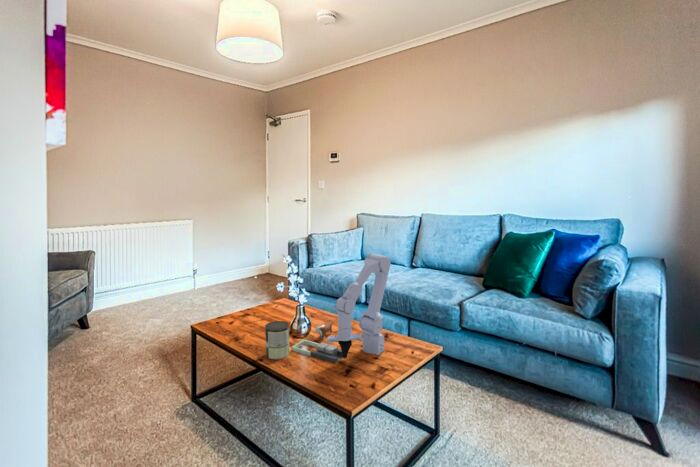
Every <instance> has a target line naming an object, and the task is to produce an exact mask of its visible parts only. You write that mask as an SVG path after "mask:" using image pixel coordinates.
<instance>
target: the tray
mask: <svg viewBox="0 0 700 467" xmlns="http://www.w3.org/2000/svg"><path fill="white" fill-rule="evenodd" d="M319 344H320V343H318V342H314V341H311V340H307V339H303V340H302V341H300V342H297V343H295V344H294V345H292V346H291V351H293V352H297V353H298V354H299V353H300V354H303V355H305V356H309V357H312V356H311V351H310V350H306V349H303V348H300V347H302V346H303V345H307V346H312V347H314V348H317V345H319Z"/></svg>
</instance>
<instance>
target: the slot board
mask: <svg viewBox="0 0 700 467" xmlns="http://www.w3.org/2000/svg"><path fill="white" fill-rule="evenodd" d="M310 352H311V356H310V357H313V358H317V359H320V360H323V361H327V362H329V363H332V364H336V363H338V362H339V361H341V360H342V359H344V358H343V354H342V350H341V348H340V349H339V348H338V356H337V357H334V356H330V355H327V354H324V353H320V352H317V350H311V351H310Z"/></svg>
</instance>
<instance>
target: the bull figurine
mask: <svg viewBox="0 0 700 467" xmlns="http://www.w3.org/2000/svg"><path fill="white" fill-rule="evenodd" d="M332 328H333V324H332V322H331V321H330V320H328V321H326V322H324V323H323V324H321V325H316V326H315V329H314V330H313V332H314V333H317V334H319V336H320V339H323V340H324V341H325V340H326V335H327V333H329V332H330V335H332V334H333V333H332V332H333V330H332Z"/></svg>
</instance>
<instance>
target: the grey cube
mask: <svg viewBox="0 0 700 467" xmlns="http://www.w3.org/2000/svg"><path fill="white" fill-rule="evenodd" d="M338 349H339V348H338V346H335V345H333V344H329V346H327V347H326V348H325V354H327V355H330V356H334V357H337V356H338Z"/></svg>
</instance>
